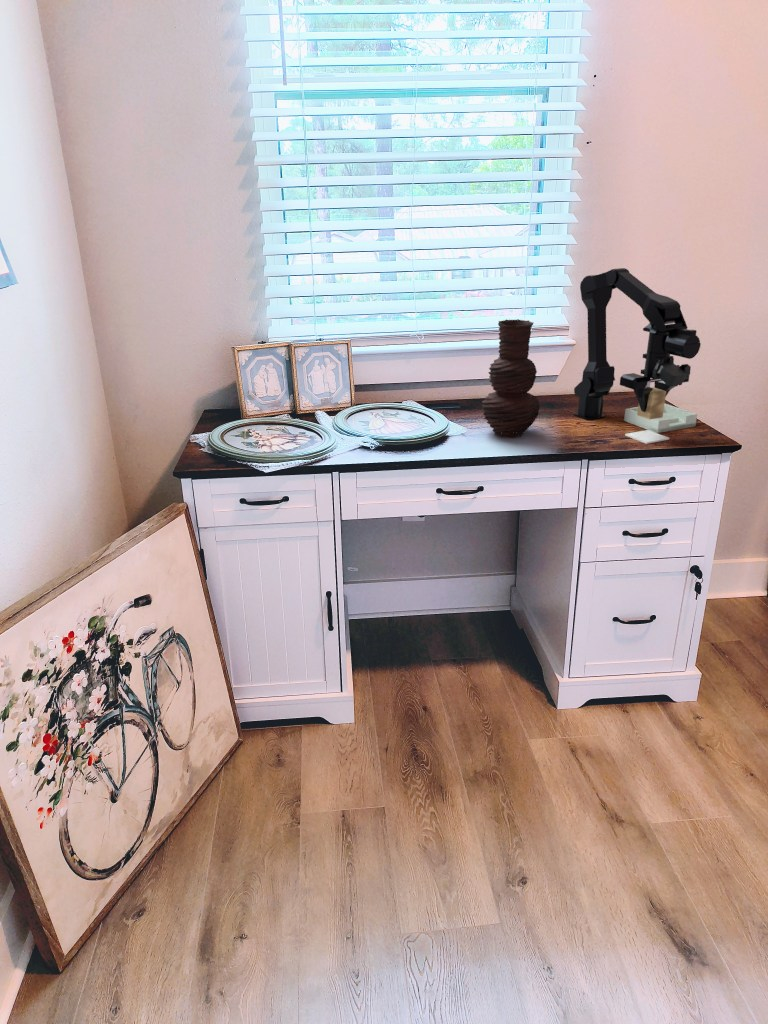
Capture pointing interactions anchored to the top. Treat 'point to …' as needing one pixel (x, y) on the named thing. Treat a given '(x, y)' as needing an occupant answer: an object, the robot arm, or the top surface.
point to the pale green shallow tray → (663, 419)
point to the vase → (512, 382)
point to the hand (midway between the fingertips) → (650, 410)
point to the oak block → (654, 405)
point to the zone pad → (647, 436)
